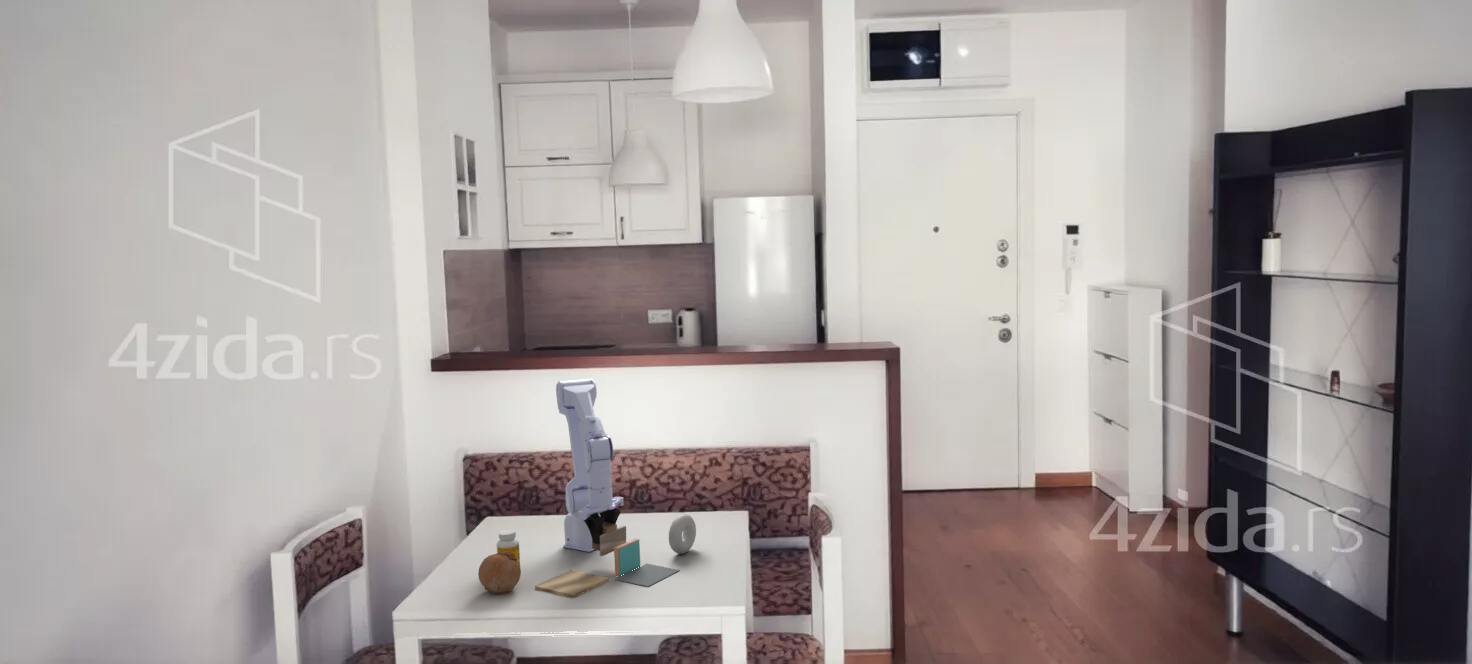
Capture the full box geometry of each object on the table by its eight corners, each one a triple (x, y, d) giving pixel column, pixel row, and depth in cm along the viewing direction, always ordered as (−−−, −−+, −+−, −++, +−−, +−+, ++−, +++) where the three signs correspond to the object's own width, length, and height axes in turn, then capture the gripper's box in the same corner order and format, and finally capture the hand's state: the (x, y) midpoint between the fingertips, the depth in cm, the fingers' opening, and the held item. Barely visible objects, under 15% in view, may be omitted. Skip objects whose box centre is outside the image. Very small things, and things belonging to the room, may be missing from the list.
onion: (515, 598, 215) (531, 557, 217) (505, 603, 206) (522, 559, 207) (477, 584, 215) (494, 543, 217) (466, 588, 206) (483, 545, 208)
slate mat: (614, 579, 216) (614, 579, 216) (646, 564, 226) (646, 563, 226) (648, 587, 211) (648, 586, 211) (679, 570, 221) (679, 570, 221)
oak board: (535, 588, 213) (534, 585, 213) (571, 572, 223) (571, 569, 222) (573, 597, 206) (573, 595, 206) (608, 580, 216) (608, 578, 216)
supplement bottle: (496, 568, 227) (493, 531, 226) (517, 565, 229) (515, 527, 229) (500, 575, 222) (498, 536, 221) (522, 571, 225) (520, 533, 224)
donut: (678, 560, 229) (676, 520, 228) (666, 558, 230) (664, 519, 229) (699, 548, 237) (698, 510, 236) (688, 546, 239) (686, 508, 238)
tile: (615, 576, 219) (613, 547, 218) (636, 566, 225) (635, 538, 225) (619, 577, 218) (618, 548, 217) (641, 566, 225) (639, 539, 224)
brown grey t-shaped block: (584, 551, 223) (584, 527, 222) (609, 541, 230) (608, 518, 230) (601, 556, 220) (601, 532, 219) (626, 545, 227) (626, 522, 227)
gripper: (592, 495, 216) (595, 551, 217) (631, 481, 228) (634, 534, 229) (570, 492, 220) (573, 547, 221) (610, 478, 232) (613, 531, 233)
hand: (602, 540), depth 225 cm, fingers closed on brown grey t-shaped block, 3 cm apart
